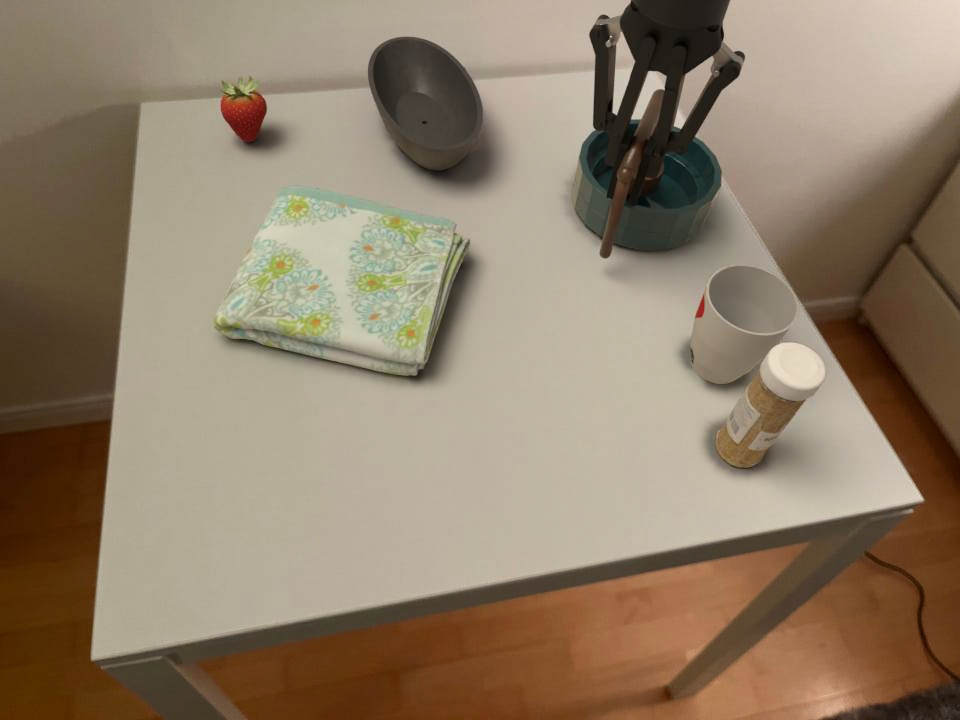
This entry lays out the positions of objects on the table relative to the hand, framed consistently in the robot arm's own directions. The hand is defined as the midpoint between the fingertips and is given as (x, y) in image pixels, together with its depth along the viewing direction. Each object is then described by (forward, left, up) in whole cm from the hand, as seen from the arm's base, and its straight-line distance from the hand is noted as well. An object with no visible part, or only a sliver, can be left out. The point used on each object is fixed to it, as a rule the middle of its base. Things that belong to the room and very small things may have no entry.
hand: (624, 193), depth 75 cm
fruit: (+30, +32, -8) cm, 45 cm away
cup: (-18, -3, -8) cm, 20 cm away
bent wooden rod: (+2, -3, -5) cm, 6 cm away
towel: (+3, +28, -8) cm, 30 cm away
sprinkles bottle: (-26, +1, -8) cm, 28 cm away
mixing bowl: (+5, -7, -8) cm, 11 cm away
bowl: (+25, +12, -8) cm, 29 cm away
